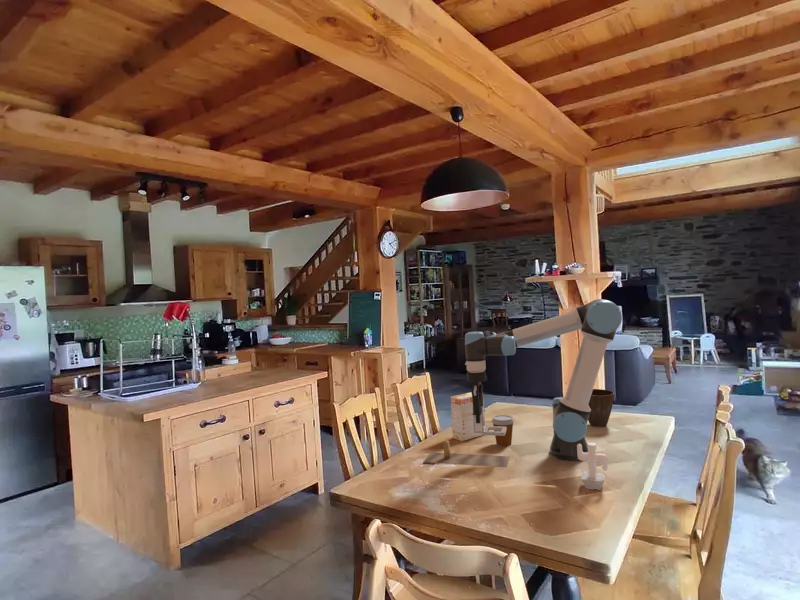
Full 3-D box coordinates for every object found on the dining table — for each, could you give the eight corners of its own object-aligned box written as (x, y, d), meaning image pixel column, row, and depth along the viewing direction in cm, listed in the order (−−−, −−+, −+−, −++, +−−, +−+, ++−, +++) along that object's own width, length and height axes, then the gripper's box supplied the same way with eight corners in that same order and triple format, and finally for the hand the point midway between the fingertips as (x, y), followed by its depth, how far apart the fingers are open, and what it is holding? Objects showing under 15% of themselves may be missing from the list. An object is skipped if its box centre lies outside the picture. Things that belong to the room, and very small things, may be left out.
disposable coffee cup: (490, 447, 216) (489, 419, 216) (495, 440, 225) (494, 414, 224) (513, 449, 212) (511, 421, 212) (516, 442, 221) (515, 415, 221)
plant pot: (590, 419, 251) (589, 387, 251) (620, 424, 240) (619, 391, 240) (576, 426, 241) (574, 393, 240) (606, 431, 230) (605, 397, 230)
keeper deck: (509, 457, 202) (509, 438, 202) (507, 468, 191) (506, 448, 191) (430, 453, 212) (429, 435, 212) (423, 463, 201) (422, 444, 201)
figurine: (608, 492, 165) (606, 447, 165) (577, 489, 169) (576, 445, 168) (608, 484, 172) (606, 441, 171) (579, 481, 175) (577, 439, 175)
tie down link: (506, 429, 200) (505, 404, 200) (504, 435, 192) (502, 409, 192) (476, 428, 204) (474, 404, 204) (472, 434, 196) (471, 409, 196)
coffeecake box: (476, 431, 240) (474, 391, 240) (486, 434, 234) (484, 393, 234) (451, 438, 232) (449, 396, 232) (461, 441, 226) (459, 398, 226)
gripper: (470, 367, 208) (473, 423, 208) (463, 374, 192) (466, 435, 193) (488, 367, 205) (491, 424, 206) (482, 374, 190) (486, 435, 191)
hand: (479, 429), depth 199 cm, fingers closed on tie down link, 3 cm apart
